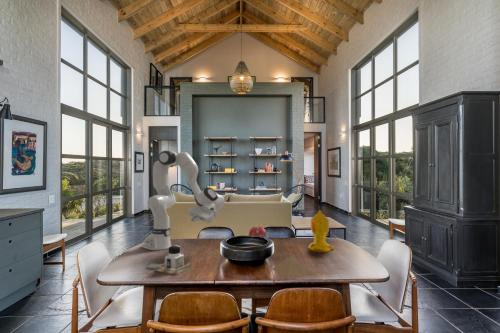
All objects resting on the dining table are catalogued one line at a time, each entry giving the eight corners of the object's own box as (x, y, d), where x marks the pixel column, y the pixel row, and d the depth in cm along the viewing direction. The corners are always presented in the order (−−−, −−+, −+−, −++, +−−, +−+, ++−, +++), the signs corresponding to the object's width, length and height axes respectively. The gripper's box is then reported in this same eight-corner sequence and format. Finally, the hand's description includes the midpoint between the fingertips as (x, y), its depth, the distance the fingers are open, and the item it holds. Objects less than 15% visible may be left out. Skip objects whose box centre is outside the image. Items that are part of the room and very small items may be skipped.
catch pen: (156, 270, 161) (156, 266, 161) (172, 264, 173) (172, 260, 173) (176, 274, 155) (176, 270, 155) (191, 267, 167) (191, 263, 167)
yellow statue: (332, 245, 219) (332, 208, 219) (333, 254, 195) (333, 212, 196) (309, 243, 223) (309, 207, 224) (307, 252, 200) (307, 211, 200)
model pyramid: (295, 265, 172) (295, 248, 173) (312, 275, 157) (312, 256, 157) (270, 269, 165) (270, 251, 166) (286, 279, 150) (287, 260, 150)
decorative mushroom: (257, 242, 226) (257, 223, 226) (270, 245, 217) (270, 225, 217) (245, 245, 216) (245, 225, 217) (258, 249, 207) (258, 228, 207)
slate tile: (146, 269, 165) (146, 266, 165) (152, 266, 171) (152, 263, 171) (155, 270, 163) (155, 267, 164) (161, 266, 169) (161, 264, 169)
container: (175, 272, 159) (175, 248, 159) (164, 270, 162) (164, 247, 163) (184, 267, 166) (184, 245, 166) (173, 266, 169) (173, 243, 170)
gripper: (195, 202, 204) (181, 211, 194) (217, 210, 192) (202, 221, 182) (197, 209, 206) (182, 219, 196) (218, 218, 195) (203, 229, 185)
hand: (192, 220), depth 189 cm, fingers closed
